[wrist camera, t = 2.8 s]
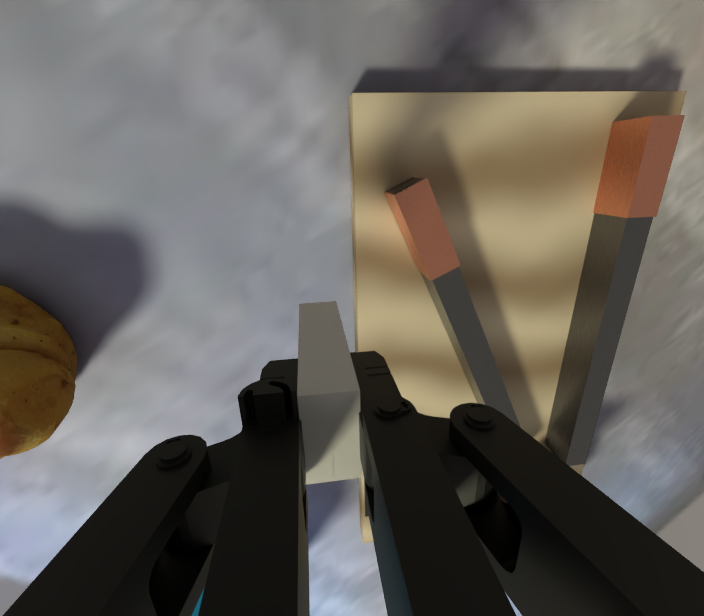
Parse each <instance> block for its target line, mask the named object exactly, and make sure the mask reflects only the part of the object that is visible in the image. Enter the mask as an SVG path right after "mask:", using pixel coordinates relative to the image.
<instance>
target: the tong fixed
mask: <svg viewBox="0 0 704 616" xmlns="http://www.w3.org/2000/svg"><path fill="white" fill-rule="evenodd" d="M684 116H685V115H665V116H648V117H641V118H635V119H628V120H622V121H616V122H612V126H611V131H610V136H609V140H608V145H607V149H606V154H605V159H604V163H603V168H602V173H601V177H600V182H599V187H598V191H597V196H596V201H595V205H594V210H593V213H594V217H593V221H592V226H591V231H590V235H589V240H588V245H587V249H586V254H585V258H584V263H583V268H582V272H581V277H580V282H579V286H578V291H577V296H576V300H575V305H574V309H573V314H572V319H571V323H570V328H569V333H568V337H567V342H566V346H565V351H564V356H563V360H562V365H561V370H560V374H559V379H558V383H557V388H556V393H555V397H554V402H553V407H552V411H551V416H550V420H549V425H548V430H547V434H546V439H545V445H546V446H547V447H548V448H549V449H550V450H551V451H552V452H553V454H555V455H556V456H557V457H558V458H560V459H561V460H562V461H563V462H565V463H566V464H567V465H568V466H573V465H581V464H585V462H586V458H587V454H588V451H589V447H590V443H591V440H592V436H593V433H594V429H595V425H596V422H597V418H598V415H599V411H600V407H601V404H602V400H603V396H604V393H605V389H606V386H607V382H608V378H609V375H610V371H611V367H612V364H613V360H614V357H615V353H616V349H617V346H618V342H619V338H620V335H621V331H622V328H623V324H624V320H625V317H626V313H627V310H628V306H629V302H630V299H631V295H632V291H633V288H634V284H635V281H636V277H637V273H638V270H639V266H640V262H641V259H642V255H643V252H644V248H645V244H646V241H647V237H648V233H649V230H650V226H651V223H652V219H653V217H656V216H657V213H658V209H659V206H660V202H661V199H662V195H663V191H664V188H665V184H666V181H667V177H668V173H669V170H670V166H671V163H672V159H673V156H674V152H675V148H676V145H677V141H678V138H679V134H680V131H681V127H682V123H683V120H684Z"/></svg>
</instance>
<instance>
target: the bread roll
mask: <svg viewBox="0 0 704 616" xmlns="http://www.w3.org/2000/svg"><path fill="white" fill-rule="evenodd" d="M77 368H78V361H77V355H76V351H75V348H74V345H73V342H72V340H71V338H70V336H69V334H68V333H67V332H66V330H65V329H64V327H63V325H62V324H61V323H60V322H59V321H57V320H56V319H55V318H53V317H52V316H51V315H50V314H49V313H47V312H46V311H45V310H44V309H42V308H41V307H40V306H38V305H37V304H35V303H34V302H32V301H30V300H29V299H27V298H25V297H24V296H22V295H20V294H19V293H18V292H16V291H15V290H13V289H11V288H9V287H6V286H3V285H0V459H1V458H3V457H4V456H9V455H15V454H19V453H22V452H25V451H28V450H30V449H32V448H35V447H36V446H38V445H40V444H41V443H43V442H44V441H46V440H47V439H49V438H50V436H51V435H52V434H53V433H54V431H55V430H56V429H57V427H58V426H59V425H60V423H61V422H62V421H63V419H64V418H65V416H66V415H67V413H68V411H69V409H70V407H71V405H72V402H73V399H74V391H75V379H76V374H77Z"/></svg>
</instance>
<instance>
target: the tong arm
mask: <svg viewBox="0 0 704 616" xmlns="http://www.w3.org/2000/svg"><path fill="white" fill-rule="evenodd" d="M384 195H385V197H386V199H387V201H388V204H389V206H390V208H391V211H392V213H393V215H394V217H395V220H396V222H397V224H398V226H399V229H400V231H401V233H402V236H403V238H404V240H405V242H406V245H407V247H408V249H409V252H410V254H411V256H412V258H413V261H414V263H415V265H416V268H417V269H418V270H419V271H420V273H421V275H422V277H423V279H424V282H425V284H426V286H427V289H428V291H429V293H430V295H431V298H432V300H433V302H434V305H435V307H436V309H437V312H438V314H439V316H440V318H441V321H442V323H443V325H444V328H445V330H446V332H447V334H448V337H449V339H450V341H451V344H452V346H453V348H454V351H455V353H456V355H457V357H458V360H459V362H460V364H461V367H462V369H463V371H464V373H465V376H466V378H467V380H468V383H469V385H470V387H471V389H472V392H473V394H474V396H475V399H476V401H477V403H479V404H484V405H487V406H490V407H493V408H495V409H496V410H498V411H500V412H501V413H503V414H504V415H505V416H506V417H508V418H509V419H510V420H511V421H513V422H514V423H515V424H517V425H518V426H519V427H520V424H519V422H518V419H517V417H516V414H515V411H514V409H513V406H512V404H511V401H510V399H509V396H508V393H507V391H506V388H505V386H504V383H503V380H502V378H501V375H500V373H499V370H498V367H497V365H496V362H495V360H494V357H493V354H492V352H491V349H490V347H489V344H488V341H487V339H486V336H485V334H484V331H483V328H482V326H481V323H480V321H479V318H478V315H477V313H476V310H475V308H474V305H473V303H472V300H471V297H470V295H469V292H468V290H467V287H466V284H465V282H464V279H463V277H462V274H461V271H460V269H459V266H461V265H460V262H459V259H458V257H457V254H456V252H455V249H454V246H453V244H452V241H451V239H450V236H449V233H448V231H447V228H446V225H445V223H444V220H443V218H442V215H441V212H440V210H439V207H438V205H437V202H436V199H435V197H434V194H433V191H432V189H431V186H430V184H429V181H428V178H424V177H411V178H409V179H408V180H406V181H404V182H402V183H400V184H398V185H396V186H395V187H393V188H391V189H389V190H387V191H385V192H384ZM520 428H521V427H520Z"/></svg>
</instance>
